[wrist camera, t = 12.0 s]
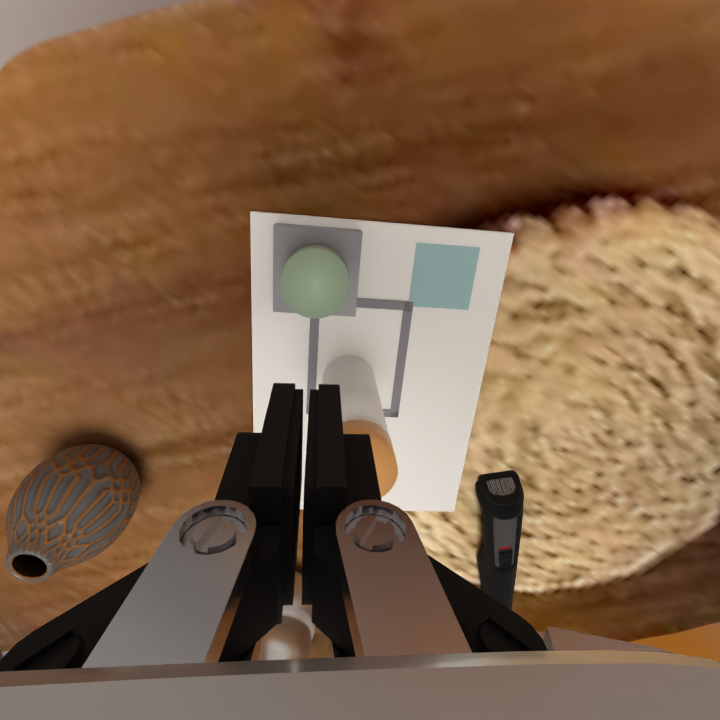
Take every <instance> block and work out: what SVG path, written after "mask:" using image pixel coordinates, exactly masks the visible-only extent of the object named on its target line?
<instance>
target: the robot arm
mask: <svg viewBox="0 0 720 720" xmlns="http://www.w3.org/2000/svg"><path fill="white" fill-rule="evenodd" d="M302 443H303V389H295V383H273V387H272V391H271V395H270V399H269V403H268V407H267V412H266V416H265V420H264V424H263V428H262V432H261V433H246V432H239V433H238V434H237V436H236V439H235V442H234V445H233V448H232V451H231V454H230V457H229V459H228V462H227V465H226V468H225V471H224V474H223V477H222V480H221V483H220V486H219V489H218V492H217V495H216V498H215V500H214V501H209V502H205V503H202V504H200V505H197V506H195V507H192V508H191V509H189V510H188V511H187V512H185V513H184V514H182V515H181V516H180V517H179V518H178V520H177V521H176V522H175V523H174V524H173V526H172V527H171V529H170V530H169V532H168V534H167V535H166V537H165V538H164V540H163V541H162V543H161V545H160V546H159V548H158V549H157V551H156V552H155V554H154V555H153V557H152V559H151V560H150V562H149V563H147V564H145V565H144V566H142V567H140V568H139V569H137V570H135V571H134V572H132V573H130V574H129V575H127V576H125V577H123V578H122V579H120V580H118V581H117V582H115V583H113V584H112V585H110V586H108V587H107V588H105V589H103V590H102V591H100V592H98V593H97V594H95V595H93V596H92V597H90V598H88V599H87V600H85V601H83V602H82V603H80V604H78V605H77V606H75V607H73V608H72V609H70V610H68V611H67V612H65V613H63V614H61V615H60V616H58V617H56V618H55V619H53V620H51V621H50V622H48V623H46V624H45V625H43V626H41V627H40V628H38V629H36V630H35V631H33V632H32V633H31V634H29V635H28V636H26V637H25V638H24V639H22V640H21V641H19V642H18V643H17V644H16V645H15V646H14V647H13V648H12V649H11V650H9V651H5V652H1V650H0V720H720V661H715V660H711V659H706V658H702V657H695V656H687V655H677V654H674V653H671V652H668V651H665V650H662V649H659V648H655V647H649V646H644V645H639V644H634V643H629V642H624V641H619V640H614V639H609V638H603V637H598V636H593V635H588V634H583V633H578V632H573V631H568V630H563V629H557V628H552V627H547V630H546V633H541V632H536V630H535V629H534V628H533V627H532V626H531V625H530V624H529V623H528V622H527V621H525V620H524V619H523V618H522V617H520V616H519V615H518V614H516V613H515V612H513V611H512V610H510V609H509V608H507V607H506V606H504V605H503V604H501V603H500V602H498V601H497V600H495V599H494V598H492V597H491V596H489V595H488V594H486V593H485V592H483V591H482V590H480V589H479V588H477V587H476V586H474V585H473V584H471V583H470V582H468V581H467V580H465V579H464V578H462V577H461V576H459V575H458V574H456V573H455V572H453V571H452V570H450V569H449V568H447V567H446V566H444V565H442V564H441V563H439V562H438V561H436V560H435V559H433V558H432V557H430V556H429V555H427V553H426V551H425V548H424V546H423V544H422V542H421V540H420V537H419V535H418V533H417V531H416V529H415V526H414V524H413V522H412V521H411V519H410V518H409V516H408V515H407V514H406V513H405V512H404V511H403V510H401V509H400V508H399V507H397V506H395V505H393V504H391V503H389V502H385V501H382V500H381V494H380V489H379V483H378V478H377V472H376V467H375V461H374V456H373V450H372V445H371V439H370V435H369V434H343V423H342V410H341V397H340V385H337V384H319V386H318V390H317V389H310V398H309V414H308V430H307V446H306V462H305V478H304V505H303V555H302V605H312V623H313V624H315V625H316V626H317V627H318V628H319V629H320V630H321V631H322V632H323V633H324V634H325V635H326V636H327V637H328V638H329V655H330V658H311V659H285V660H260V661H257V660H258V656H259V652H260V644H261V638H262V637H263V636H264V635H265V634H267V633H268V632H269V631H270V630H271V629H272V628H273V627H274V626H275V625H277V624H281V622H282V612H283V606H284V605H293V600H294V586H295V572H296V558H297V543H298V529H299V515H300V501H301V486H302Z"/></svg>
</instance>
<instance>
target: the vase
mask: <svg viewBox="0 0 720 720" xmlns="http://www.w3.org/2000/svg"><path fill="white" fill-rule="evenodd" d="M139 494H140V480H139V475H138V473H137V471H136V468H135V466H134V465H133V463H132V462H131V461H130V460H129V459H128V458H127V457H126V456H125V455H124V454H122V453H121V452H119V451H118V450H116V449H113V448H111V447H108V446H104V445H98V444H83V445H77V446H73V447H70V448H67V449H64V450H62V451H60V452H58V453H56V454H54V455H52V456H50V457H49V458H47V459H45V460H44V461H43V462H42V463H40V464H39V465H38V466H37V467H36V468H34V469H33V470H32V471H31V472H30V473H29V474H28V475H27V476H26V477H25V479H24V480H23V481H22V482H21V484H20V485H19V487H18V488H17V490H16V492H15V493H14V495H13V497H12V499H11V502H10V504H9V507H8V510H7V514H6V523H5V525H6V535H7V542H8V553H7V557H6V560H5V566H6V569H7V570H8V572H9V573H10V574H11V575H12V576H14V577H15V578H17V579H19V580H22V581H26V582H40V581H43V580H45V579H47V578H49V577H50V576H52V575H53V574H55V573H56V572H58V571H60V570H63V569H66V568H69V567H72V566H75V565H77V564H80V563H83V562H85V561H87V560H89V559H91V558H93V557H95V556H97V555H98V554H100V553H101V552H102V551H104V550H105V549H106V548H108V547H109V546H110V545H111V544H112V543H113V542H114V541H115V540H116V539H117V538H118V537H119V536H120V535H121V533H122V532H123V531H124V530H125V528H126V527H127V525H128V524H129V522H130V520H131V518H132V516H133V514H134V512H135V510H136V507H137V504H138V500H139Z"/></svg>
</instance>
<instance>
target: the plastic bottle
mask: <svg viewBox="0 0 720 720" xmlns="http://www.w3.org/2000/svg"><path fill="white" fill-rule="evenodd" d="M315 626H316V625H315V624H313V623H312V605H302V574H301V573H300V572H298V571H296V572H295V586H294V600H293V605H284V606H283V612H282V622H281V624H277V625H275V626H274V627H273V628H272V629H271V630H270V631H269V632H268V633H267V634H265V635H264V636H263V637H262V638H261V644H260V652H259V656H258V660H257V661H260V660H285V659H309V657H310V649H311V641H312V639H313V635H314V631H315Z"/></svg>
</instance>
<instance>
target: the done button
mask: <svg viewBox="0 0 720 720" xmlns="http://www.w3.org/2000/svg"><path fill="white" fill-rule="evenodd" d="M349 289H350V281H349V276H348V271H347V267H346V265H345V262H344V261H343V259H342V258H341V256H340V255H339V254H338V253H337V252H335V251H334V250H333V249H331V248H329V247H327V246H324V245H318V244H312V245H306V246H303V247H301V248H299V249H297V250H296V251H295V252H294V253H293V254H292V255H291V256H290V257H289V259H288V260H287V262H286V264H285V266H284V268H283V270H282V273H281V277H280V290H281V294H282V297H283V299H284V301H285V302H286V304H287V305H288V306H289V307H290V308H291V309H292V310H293V311H294V312H296V313H297V314H299V315H301V316H304V317H307V318H313V319H319V318H325V317H328V316H330V315H332V314H334V313H335V312H337V311H338V310H339V309H340V308H341V307H342V306H343V305H344V303H345V301H346V299H347V297H348V294H349Z"/></svg>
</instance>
